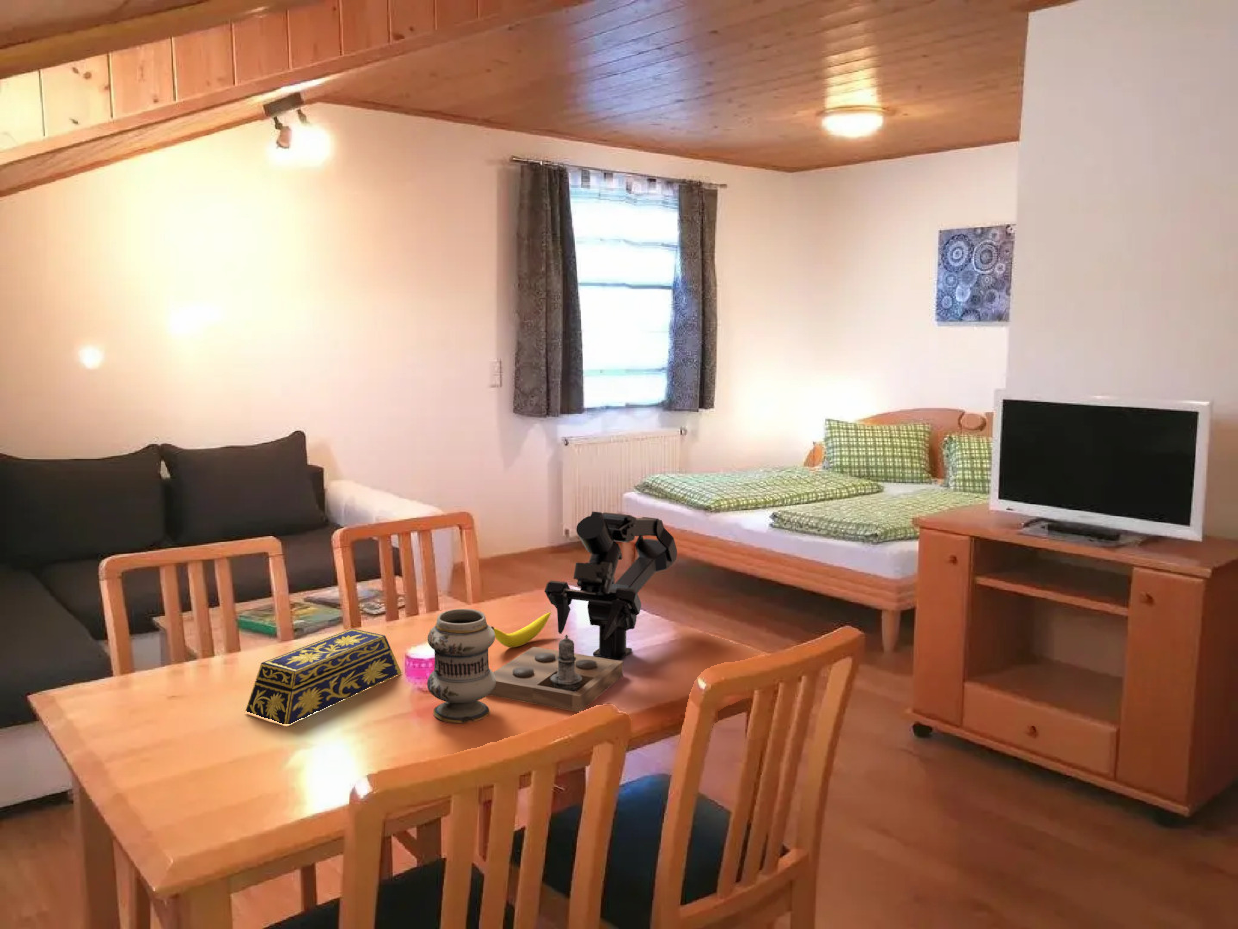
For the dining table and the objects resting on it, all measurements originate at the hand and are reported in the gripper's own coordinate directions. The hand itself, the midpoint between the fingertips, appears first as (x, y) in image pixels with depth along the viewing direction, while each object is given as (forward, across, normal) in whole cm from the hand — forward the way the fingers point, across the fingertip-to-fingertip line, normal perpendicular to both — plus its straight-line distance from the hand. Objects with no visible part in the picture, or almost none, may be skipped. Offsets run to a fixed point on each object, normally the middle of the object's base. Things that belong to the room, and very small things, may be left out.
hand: (581, 635), depth 192 cm
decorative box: (+23, -42, -9) cm, 49 cm away
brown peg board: (+9, -4, +4) cm, 11 cm away
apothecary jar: (+22, -14, -9) cm, 28 cm away
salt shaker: (+12, 0, +1) cm, 12 cm away
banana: (-4, -20, +18) cm, 27 cm away
